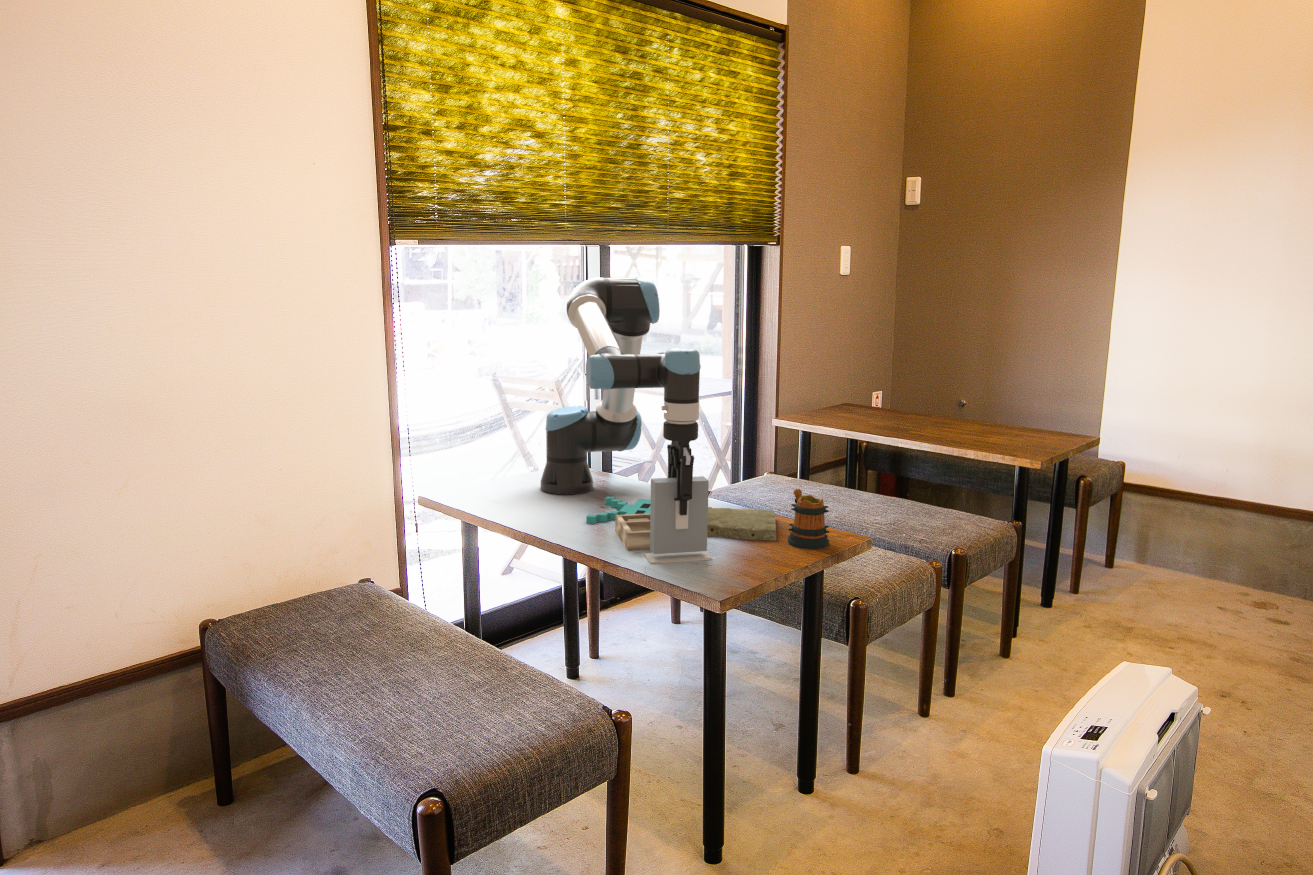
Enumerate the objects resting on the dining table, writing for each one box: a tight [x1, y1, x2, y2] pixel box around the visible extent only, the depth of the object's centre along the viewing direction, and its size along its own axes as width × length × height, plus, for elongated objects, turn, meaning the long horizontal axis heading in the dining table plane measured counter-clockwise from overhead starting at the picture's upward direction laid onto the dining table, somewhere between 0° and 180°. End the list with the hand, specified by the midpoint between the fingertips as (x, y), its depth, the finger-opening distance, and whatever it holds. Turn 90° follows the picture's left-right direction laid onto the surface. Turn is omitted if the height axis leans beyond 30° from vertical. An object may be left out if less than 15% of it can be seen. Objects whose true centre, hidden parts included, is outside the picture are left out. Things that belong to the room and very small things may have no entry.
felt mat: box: [643, 551, 713, 565], centre depth 195 cm, size 6×14×1 cm, turn 103°
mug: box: [787, 488, 830, 551], centre depth 207 cm, size 13×10×12 cm
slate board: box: [649, 476, 710, 554], centre depth 193 cm, size 4×12×16 cm, turn 103°
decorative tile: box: [707, 506, 777, 541], centre depth 218 cm, size 19×20×4 cm
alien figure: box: [585, 495, 651, 525], centre depth 227 cm, size 20×2×20 cm
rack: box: [614, 513, 651, 551], centre depth 208 cm, size 15×18×4 cm
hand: (678, 525), depth 194 cm, fingers closed on slate board, 4 cm apart
